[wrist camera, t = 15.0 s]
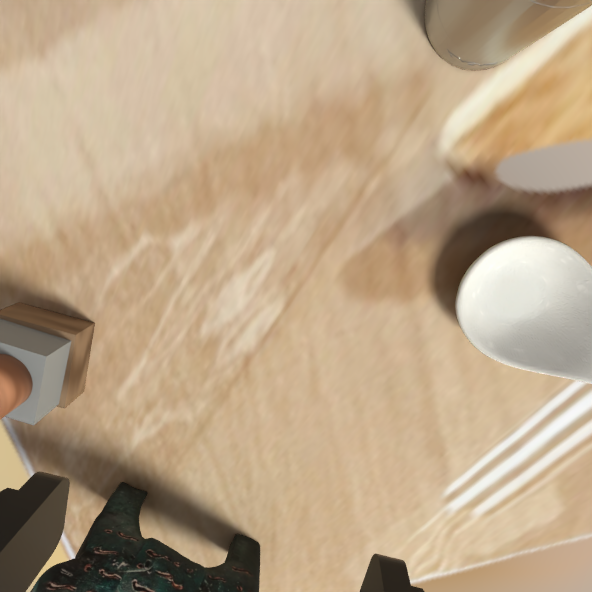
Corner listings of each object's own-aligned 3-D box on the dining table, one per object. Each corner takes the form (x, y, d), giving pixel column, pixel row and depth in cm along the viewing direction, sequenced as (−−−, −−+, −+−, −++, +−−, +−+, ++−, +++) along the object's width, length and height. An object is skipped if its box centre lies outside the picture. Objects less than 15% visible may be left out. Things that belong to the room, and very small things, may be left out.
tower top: (-1, 318, 42) (-33, 332, 38) (71, 340, 42) (46, 356, 38) (-11, 382, 44) (-42, 402, 40) (58, 404, 44) (33, 425, 40)
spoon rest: (423, 312, 44) (443, 336, 37) (495, 208, 41) (532, 213, 34) (614, 426, 46) (667, 469, 39) (695, 334, 43) (768, 363, 36)
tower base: (20, 301, 46) (-7, 312, 42) (96, 322, 46) (75, 335, 42) (12, 371, 48) (-15, 387, 44) (85, 390, 48) (64, 408, 44)
